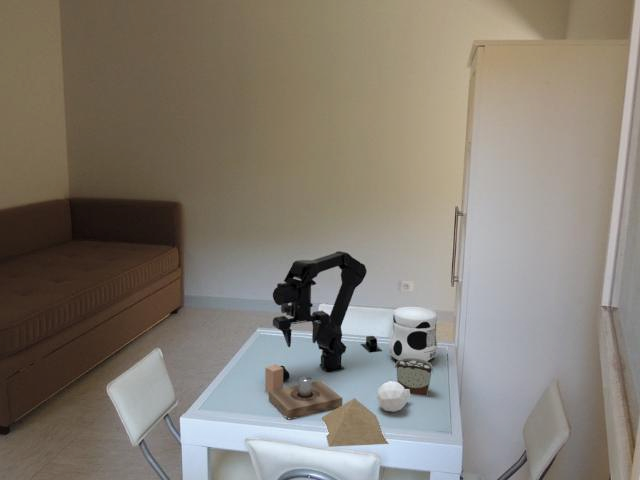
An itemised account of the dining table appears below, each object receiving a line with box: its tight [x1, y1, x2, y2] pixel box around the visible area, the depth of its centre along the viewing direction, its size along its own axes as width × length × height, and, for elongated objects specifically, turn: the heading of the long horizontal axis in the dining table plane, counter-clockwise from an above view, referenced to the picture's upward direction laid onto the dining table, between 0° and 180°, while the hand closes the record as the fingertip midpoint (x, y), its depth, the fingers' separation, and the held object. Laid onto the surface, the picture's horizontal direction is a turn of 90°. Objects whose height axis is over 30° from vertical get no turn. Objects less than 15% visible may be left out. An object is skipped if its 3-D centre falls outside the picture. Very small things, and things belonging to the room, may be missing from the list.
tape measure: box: [279, 365, 290, 381], centre depth 195 cm, size 7×7×4 cm
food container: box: [394, 358, 434, 398], centre depth 188 cm, size 12×6×10 cm, turn 71°
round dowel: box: [298, 376, 312, 398], centre depth 177 cm, size 4×4×8 cm
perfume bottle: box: [376, 380, 411, 413], centre depth 175 cm, size 9×9×12 cm
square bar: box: [264, 364, 284, 394], centre depth 185 cm, size 4×4×8 cm
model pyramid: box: [321, 397, 389, 448], centre depth 162 cm, size 17×17×10 cm
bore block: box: [268, 380, 343, 419], centre depth 177 cm, size 18×14×3 cm
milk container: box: [389, 306, 438, 364], centre depth 213 cm, size 17×17×18 cm
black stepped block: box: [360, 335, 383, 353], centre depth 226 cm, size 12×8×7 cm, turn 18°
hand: (301, 344), depth 194 cm, fingers open, 9 cm apart
